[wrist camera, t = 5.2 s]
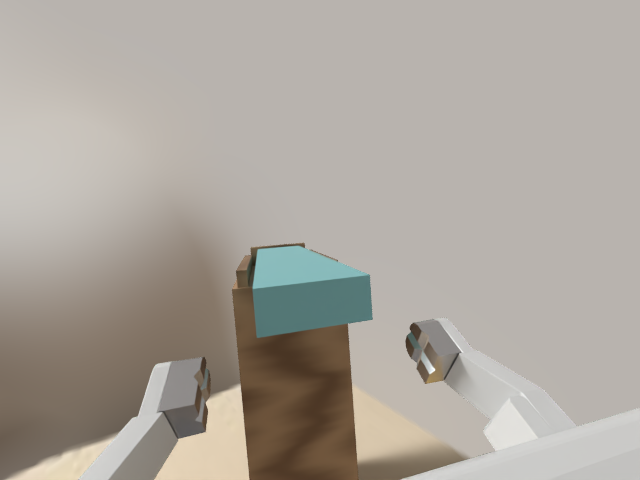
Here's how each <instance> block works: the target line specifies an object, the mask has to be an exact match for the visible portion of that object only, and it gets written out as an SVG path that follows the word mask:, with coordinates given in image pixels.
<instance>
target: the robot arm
mask: <svg viewBox="0 0 640 480" xmlns="http://www.w3.org/2000/svg"><path fill="white" fill-rule="evenodd" d="M410 330H411V333H410V334H408V335H407V338H406V348H407V351H408V354H409V356H410V357H411V359H413V360H414V361H415V362H417V370H418V371H419V373H420V375H421V377H422V379H423V380H424V382H425V384H427V383H432V382H438V381H443V380H445V381H444V382H445V383H447V384H448V385H449V386H450V387H451V388H452V389H454V390H455V391H456V392H457V393H458V394H460V395H461V396H462V397H463V398H464V399H466V400H467V401H468V402H469V403H471V404H472V405H473V406H474V407H475V408H477V409H478V410H479V411H480V412H481V413H482V414H484V415H485V416H486V417H487V418H488V419H490V420H491V421H490V422H489V423H488V424H487V425H486V427H485V428H484V434H485V435H486V437H487V439H488V440H489V442H490V444H491V445H492V447H493V448H494V450H495V451H494V452H490V453H487V454H484V455H480V456H477V457H474V458H470V459H467V460H464V461H460V462H457V463H454V464H450V465H447V466H444V467H440V468H437V469H434V470H430V471H427V472H424V473H420V474H417V475H414V476H410V477H407V478H404V479H400V480H640V408H637V409H634V410H631V411H627V412H624V413H620V414H617V415H614V416H610V417H607V418H604V419H601V420H597V421H594V422H591V423H587V424H584V425H580V426H576V425H575V424H574V423H573V422H572V421H571V419H570V418H569V417H568V416H567V415H566V414H565V413H564V412H563V411H562V410H561V409H560V407H559V406H558V405H557V404H556V403H555V402H554V401H553V400H552V399H551V398H550V396H549V395H548V394H547V393H546V392H545V391H544V390H543V389H542V388H541V387H539V386H537V385H535V384H534V383H532V382H530V381H529V380H527V379H525V378H523V377H522V376H520V375H519V374H517V373H515V372H513V371H512V370H510V369H509V368H507V367H505V366H503V365H502V364H500V363H498V362H497V361H495V360H493V359H492V358H490V357H488V356H486V355H485V354H483V353H481V352H480V351H478V350H473V349H472V348H471V346H470V345H469V344H468V343H467V341H466V340H465V339H464V338H463V336H462V335H461V334H460V333H459V331H458V330H457V329H456V328H455V327H454V325H453V324H452V323H451V321H450V320H449V319H447V318H440V319H432V320H426V321H421V322H416V323H413V324H411V326H410ZM209 397H210V373H209V370H208V369H206V360H205V357H201V358H194V359H187V360H180V361H172V362H167V363H160V364H156V365H155V367H154V368H153V371H152V374H151V377H150V380H149V383H148V386H147V389H146V393H145V396H144V399H143V402H142V405H141V408H140V412H139V415H138V417H134V418H132V419H131V420H130V421H129V422H128V424H127V425H126V426H125V427H124V428H123V429H122V430H121V432H120V433H119V434H118V435H117V436H116V437H115V438H114V439H113V441H112V442H111V443H110V444H109V445H108V446H107V447H106V448H105V450H104V451H103V452H102V453H101V454H100V455H99V456H98V458H97V459H96V460H95V461H94V462H93V463H92V464H91V465H90V467H89V468H88V469H87V470H86V471H85V472H84V473H83V474H82V476H81V477H80V478H79V479H78V480H154V479H155V477H156V476H157V474H158V472H159V471H160V469H161V467H162V466H163V464H164V463H165V461H166V459H167V458H168V456H169V455H170V453H171V451H172V450H173V448H174V447H175V445H176V443H177V442H178V439H179V438H183V437H187V436H191V435H195V434H199V433H203V432H206V423H207V415H208V409H207V406H206V401H207V400H208V399H209Z"/></svg>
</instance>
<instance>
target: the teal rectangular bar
mask: <svg viewBox="0 0 640 480" xmlns="http://www.w3.org/2000/svg"><path fill="white" fill-rule="evenodd" d="M253 301H254V312H255V323H256V335H257V338H260V337H266V336H273V335H279V334H285V333H292V332H298V331H304V330H310V329H317V328H323V327H329V326H336V325H342V324H348V323H354V322H361V321H367V320H372V304H371V287H370V275H369V274H366V273H364V272H361V271H359V270H356V269H354V268H352V267H349V266H347V265H344V264H342V263H340V262H337V261H335V260H332V259H330V258H327V257H325V256H323V255H320V254H318V253H315V252H313V251H310V250H308V249H306V248H303V247H301V246H288V247H277V248H265V249H258V251H257V258H256V266H255V274H254V281H253Z"/></svg>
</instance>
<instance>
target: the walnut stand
mask: <svg viewBox="0 0 640 480" xmlns="http://www.w3.org/2000/svg"><path fill="white" fill-rule="evenodd" d="M288 246H301V247H303V248H305V244H304V243H296V244H284V245H273V246H262V247H251V255H248V256H245V257H244V258H243V260H242V262H241V263H240V265H239V267H238V269H237V270H236V275H237V280H236V283H235V284H234V286H233V289H232V294H233V304H234V316H235V327H236V336H237V347H238V359H239V370H240V381H241V392H242V402H243V413H244V424H245V435H246V446H247V457H248V467H249V478H250V480H358V467H357V453H356V438H355V424H354V409H353V394H352V380H351V365H350V351H349V338H348V337H349V336H348V324H342V325H336V326H329V327H323V328H317V329H310V330H304V331H298V332H292V333H285V334H279V335H273V336H266V337H260V338H257V335H256V323H255V312H254V301H253V281H254V274H255V266H256V258H257V251H258V249H265V248H277V247H288ZM310 251H313V250H310ZM313 252H315V253H318V252H316V251H313ZM318 254H320V255H323V254H321V253H318ZM323 256H325V257H327V258H330V259H332V260H335V261H337V262H338V260H336V259H333V258H331V257H328V256H326V255H323Z"/></svg>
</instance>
